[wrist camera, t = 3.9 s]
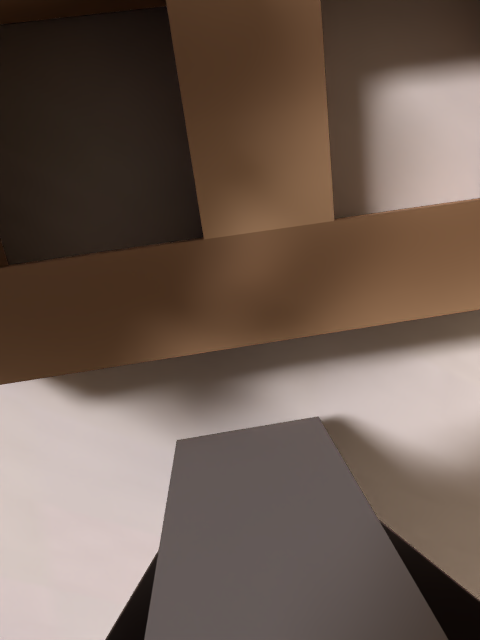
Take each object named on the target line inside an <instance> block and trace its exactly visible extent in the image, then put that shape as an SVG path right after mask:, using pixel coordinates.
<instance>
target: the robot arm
mask: <svg viewBox="0 0 480 640" xmlns="http://www.w3.org/2000/svg"><path fill="white" fill-rule="evenodd" d="M378 520H379V519H378ZM379 521H380V520H379ZM380 523H381V525H382V527H383V528H384V530H385V532H386V533H387V535H388V537H389V539H390V540H391V542H392V544H393V546H394V547H395V549H396V551H397V552H398V554H399V556H400V558H401V559H402V561H403V563H404V564H405V566H406V568H407V570H408V571H409V573H410V575H411V576H412V578H413V580H414V582H415V583H416V585H417V587H418V588H419V590H420V592H421V594H422V595H423V597H424V599H425V600H426V602H427V604H428V606H429V607H430V609H431V611H432V613H433V614H434V616H435V618H436V619H437V621H438V623H439V625H440V626H441V628H442V630H443V631H444V633H445V635H446V637H447V638H448V640H480V601H479V600H478V599H477V598H476V597H474V596H473V595H472V594H471V593H469V592H468V591H467V590H466V589H464V588H463V587H462V586H461V585H459V584H458V583H457V582H456V581H454V580H453V579H452V578H451V577H449V576H448V575H447V574H446V573H445V572H443V571H442V570H441V569H440V568H438V567H437V566H436V565H435V564H433V563H432V562H431V561H430V560H428V559H427V558H426V557H425V556H423V555H422V554H421V553H420V552H418V551H417V550H416V549H415V548H413V547H412V546H411V545H410V544H408V543H407V542H406V541H405V540H404V539H402V538H401V537H400V536H399V535H397V534H396V533H395V532H394V531H392V530H391V529H390V528H389V527H387V526H386V525H385V524H384V523H382V522H381V521H380ZM158 552H159V550H158ZM158 552H157V554H156V555H155V557H154V559H153V560H152V562H151V564H150V566H149V567H148V569H147V571H146V572H145V574H144V576H143V577H142V579H141V581H140V582H139V584H138V586H137V587H136V589H135V591H134V592H133V594H132V596H131V597H130V599H129V601H128V602H127V604H126V606H125V607H124V609H123V611H122V612H121V614H120V616H119V618H118V619H117V621H116V623H115V624H114V626H113V628H112V629H111V631H110V633H109V634H108V636H107V638H106V639H105V640H144V638H145V632H146V626H147V620H148V614H149V608H150V602H151V595H152V589H153V583H154V577H155V571H156V565H157V559H158Z"/></svg>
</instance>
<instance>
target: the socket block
mask: <svg viewBox="0 0 480 640" xmlns="http://www.w3.org/2000/svg"><path fill="white" fill-rule="evenodd" d="M163 6H167V11H168V17H169V23H170V30H171V36H172V42H173V49H174V55H175V61H176V67H177V74H178V80H179V86H180V93H181V99H182V105H183V111H184V118H185V124H186V130H187V137H188V143H189V149H190V155H191V162H192V168H193V174H194V180H195V187H196V193H197V199H198V206H199V212H200V218H201V224H202V231H203V237H202V238H195V239H188V240H181V241H174V242H167V243H160V244H153V245H146V246H139V247H132V248H125V249H118V250H111V251H104V252H97V253H89V254H82V255H75V256H68V257H61V258H54V259H47V260H40V261H33V262H26V263H19V264H12V265H8V262H7V258H6V255H5V252H4V249H3V245H2V242H1V239H0V385H2V384H8V383H14V382H21V381H27V380H34V379H40V378H46V377H53V376H59V375H65V374H72V373H78V372H85V371H91V370H97V369H104V368H110V367H116V366H123V365H129V364H136V363H142V362H148V361H155V360H161V359H167V358H174V357H180V356H187V355H193V354H199V353H206V352H212V351H218V350H225V349H231V348H238V347H244V346H250V345H257V344H263V343H269V342H276V341H282V340H289V339H295V338H301V337H308V336H314V335H320V334H327V333H333V332H340V331H346V330H352V329H359V328H365V327H372V326H378V325H384V324H391V323H397V322H403V321H410V320H416V319H423V318H429V317H435V316H442V315H448V314H454V313H461V312H467V311H474V310H480V198H478V199H471V200H464V201H457V202H450V203H442V204H435V205H428V206H421V207H414V208H407V209H400V210H393V211H386V212H379V213H372V214H365V215H358V216H351V217H344V218H337V219H334V206H333V190H332V174H331V158H330V142H329V126H328V110H327V94H326V78H325V62H324V46H323V30H322V14H321V0H0V25H1V24H10V23H19V22H28V21H37V20H46V19H55V18H64V17H73V16H82V15H91V14H100V13H109V12H118V11H127V10H136V9H145V8H154V7H163Z"/></svg>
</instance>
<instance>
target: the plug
mask: <svg viewBox="0 0 480 640" xmlns="http://www.w3.org/2000/svg"><path fill="white" fill-rule="evenodd" d="M144 640H448V638H447V637H446V635H445V633H444V631H443V630H442V628H441V626H440V625H439V623H438V621H437V619H436V618H435V616H434V614H433V613H432V611H431V609H430V607H429V606H428V604H427V602H426V600H425V599H424V597H423V595H422V594H421V592H420V590H419V588H418V587H417V585H416V583H415V582H414V580H413V578H412V576H411V575H410V573H409V571H408V570H407V568H406V566H405V564H404V563H403V561H402V559H401V558H400V556H399V554H398V552H397V551H396V549H395V547H394V546H393V544H392V542H391V540H390V539H389V537H388V535H387V533H386V532H385V530H384V528H383V527H382V525H381V523H380V521H379V520H378V518H377V516H376V515H375V513H374V511H373V509H372V508H371V506H370V504H369V503H368V501H367V499H366V497H365V496H364V494H363V492H362V491H361V489H360V487H359V485H358V484H357V482H356V480H355V479H354V477H353V475H352V473H351V472H350V470H349V468H348V466H347V465H346V463H345V461H344V460H343V458H342V456H341V454H340V453H339V451H338V449H337V448H336V446H335V444H334V442H333V441H332V439H331V437H330V436H329V434H328V432H327V430H326V429H325V427H324V425H323V424H322V422H321V420H320V418H319V417H313V418H307V419H301V420H295V421H289V422H283V423H277V424H271V425H265V426H259V427H253V428H247V429H241V430H235V431H229V432H223V433H217V434H211V435H205V436H199V437H193V438H187V439H181V440H177V442H176V448H175V454H174V460H173V466H172V473H171V479H170V485H169V491H168V497H167V503H166V509H165V516H164V522H163V528H162V534H161V540H160V546H159V552H158V559H157V565H156V571H155V577H154V583H153V589H152V595H151V602H150V608H149V614H148V620H147V626H146V632H145V638H144Z"/></svg>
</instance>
